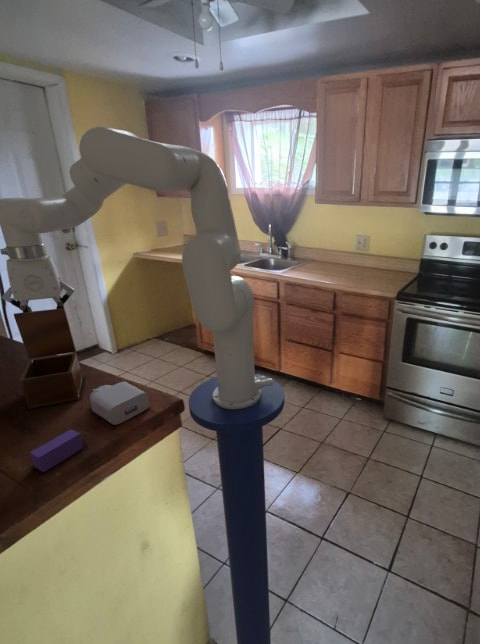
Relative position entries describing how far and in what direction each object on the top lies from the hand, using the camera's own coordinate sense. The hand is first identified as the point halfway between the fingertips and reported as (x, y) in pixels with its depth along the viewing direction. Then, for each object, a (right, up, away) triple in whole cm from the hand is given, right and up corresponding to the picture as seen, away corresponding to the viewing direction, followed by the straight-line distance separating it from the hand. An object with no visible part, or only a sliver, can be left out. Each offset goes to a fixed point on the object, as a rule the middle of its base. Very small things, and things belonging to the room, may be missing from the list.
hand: (47, 320), depth 97 cm
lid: (+2, -4, -3) cm, 5 cm away
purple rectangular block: (+18, -28, -23) cm, 41 cm away
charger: (+21, -21, -7) cm, 31 cm away
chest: (+4, -19, -1) cm, 19 cm away
